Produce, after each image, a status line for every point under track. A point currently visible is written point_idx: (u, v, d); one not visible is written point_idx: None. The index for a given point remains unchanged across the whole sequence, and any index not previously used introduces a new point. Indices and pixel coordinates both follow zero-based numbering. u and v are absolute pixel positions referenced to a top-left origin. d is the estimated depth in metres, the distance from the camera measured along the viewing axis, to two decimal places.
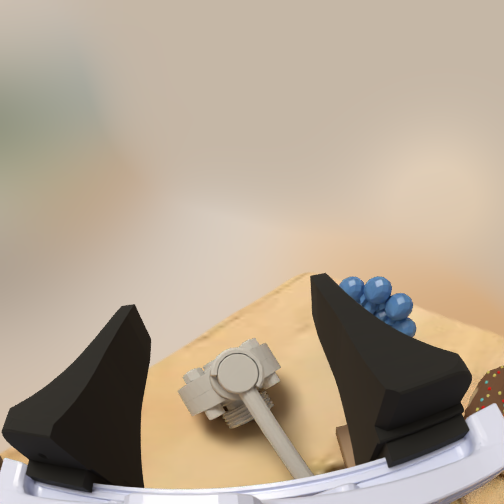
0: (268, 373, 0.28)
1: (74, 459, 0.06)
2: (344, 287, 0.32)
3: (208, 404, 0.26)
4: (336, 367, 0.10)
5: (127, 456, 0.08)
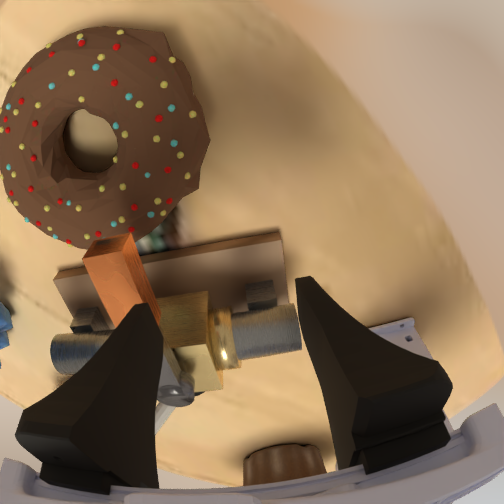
0: None
1: (93, 461, 0.06)
2: None
3: None
4: (319, 371, 0.11)
5: (143, 457, 0.08)
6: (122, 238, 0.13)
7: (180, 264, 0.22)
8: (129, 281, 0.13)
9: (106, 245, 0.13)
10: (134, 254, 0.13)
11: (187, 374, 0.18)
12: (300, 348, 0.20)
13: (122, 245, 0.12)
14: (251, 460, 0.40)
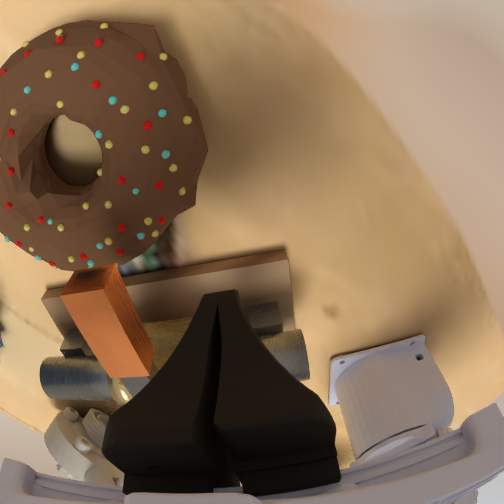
0: (83, 457, 0.22)
1: (207, 464, 0.06)
2: None
3: None
4: None
5: (230, 454, 0.08)
6: (105, 271, 0.11)
7: (176, 285, 0.20)
8: (115, 321, 0.11)
9: (87, 279, 0.11)
10: (120, 289, 0.11)
11: None
12: (308, 378, 0.18)
13: (105, 281, 0.10)
14: None
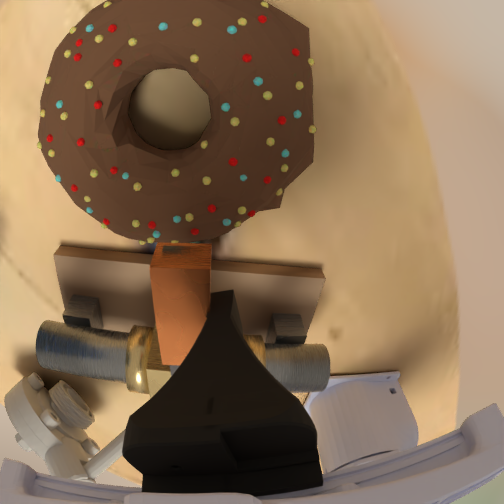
0: (49, 432, 0.20)
1: (231, 462, 0.06)
2: None
3: (90, 459, 0.23)
4: None
5: None
6: (203, 250, 0.11)
7: (214, 277, 0.20)
8: (204, 305, 0.11)
9: (181, 255, 0.10)
10: None
11: None
12: (322, 390, 0.19)
13: (207, 261, 0.10)
14: None
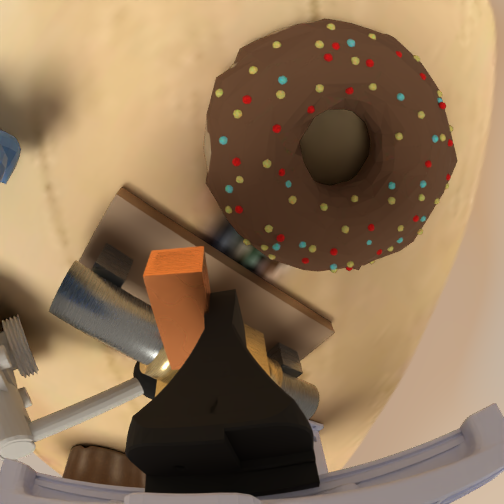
0: None
1: (235, 462, 0.06)
2: None
3: None
4: None
5: None
6: (195, 253, 0.11)
7: (258, 294, 0.21)
8: (202, 308, 0.11)
9: (174, 260, 0.11)
10: (206, 273, 0.11)
11: None
12: None
13: (199, 263, 0.10)
14: (89, 452, 0.33)
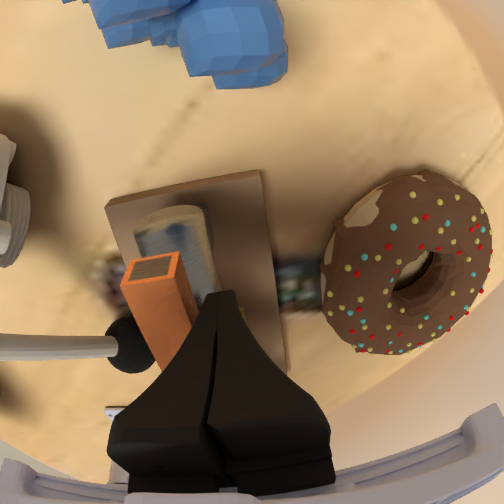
0: None
1: (213, 463, 0.06)
2: None
3: None
4: None
5: None
6: (170, 259, 0.11)
7: (273, 326, 0.23)
8: (181, 313, 0.11)
9: (150, 268, 0.11)
10: (184, 278, 0.11)
11: None
12: None
13: (173, 269, 0.10)
14: None
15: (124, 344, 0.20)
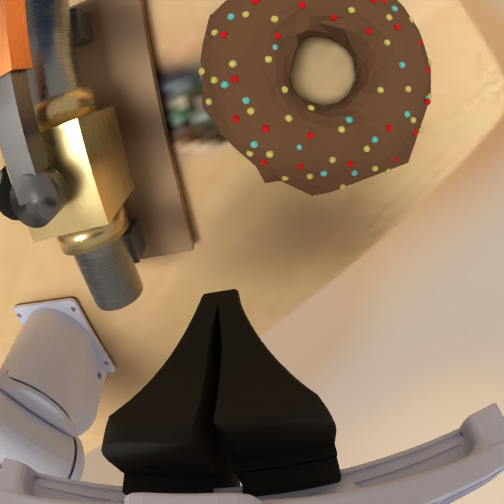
0: None
1: (207, 464, 0.06)
2: None
3: None
4: None
5: (230, 453, 0.08)
6: None
7: (158, 149, 0.18)
8: (1, 4, 0.06)
9: None
10: None
11: (55, 171, 0.11)
12: (104, 309, 0.17)
13: None
14: None
15: (7, 174, 0.15)
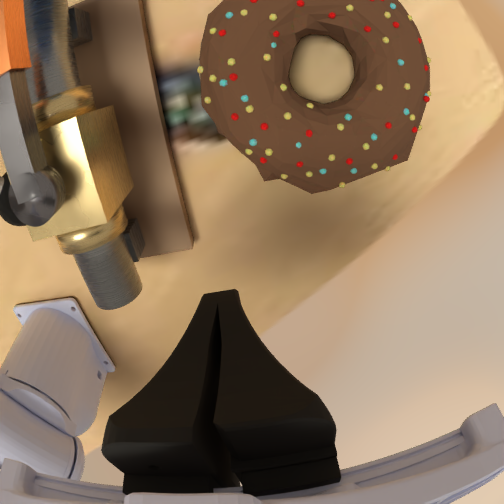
0: None
1: (207, 463, 0.06)
2: None
3: None
4: None
5: (230, 453, 0.08)
6: None
7: (157, 148, 0.18)
8: (0, 4, 0.06)
9: None
10: None
11: (53, 170, 0.11)
12: (103, 308, 0.17)
13: None
14: None
15: (8, 181, 0.16)
